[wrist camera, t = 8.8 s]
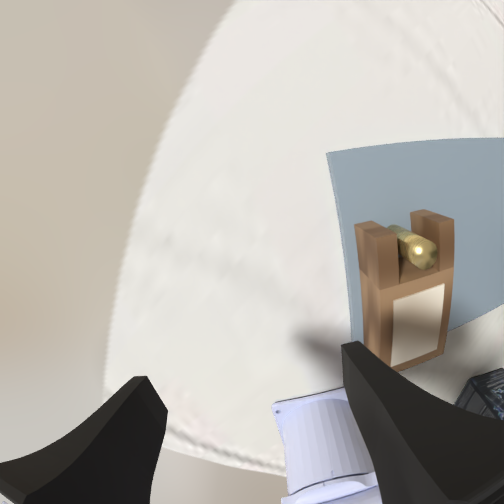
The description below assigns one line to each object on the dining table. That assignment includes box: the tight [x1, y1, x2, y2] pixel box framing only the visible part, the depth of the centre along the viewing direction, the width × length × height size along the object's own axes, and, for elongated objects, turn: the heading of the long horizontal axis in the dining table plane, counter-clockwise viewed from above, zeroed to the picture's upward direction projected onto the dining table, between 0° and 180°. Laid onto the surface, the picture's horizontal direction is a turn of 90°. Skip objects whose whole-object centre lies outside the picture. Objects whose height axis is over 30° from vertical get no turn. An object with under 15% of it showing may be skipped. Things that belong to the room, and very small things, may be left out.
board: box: [326, 138, 504, 345], centre depth 17 cm, size 16×18×1 cm
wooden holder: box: [354, 209, 455, 372], centre depth 16 cm, size 10×6×4 cm, turn 13°
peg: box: [387, 224, 437, 270], centre depth 15 cm, size 2×2×4 cm
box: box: [454, 368, 504, 420], centre depth 18 cm, size 8×6×11 cm
